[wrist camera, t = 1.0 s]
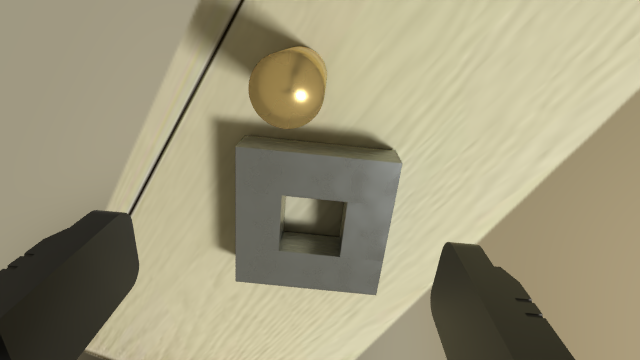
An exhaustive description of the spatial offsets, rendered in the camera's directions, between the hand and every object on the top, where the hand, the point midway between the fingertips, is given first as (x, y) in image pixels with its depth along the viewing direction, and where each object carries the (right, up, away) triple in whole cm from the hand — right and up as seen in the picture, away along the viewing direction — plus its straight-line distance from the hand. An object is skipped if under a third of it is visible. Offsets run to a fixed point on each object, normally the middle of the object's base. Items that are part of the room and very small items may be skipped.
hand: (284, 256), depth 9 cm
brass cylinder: (-1, +10, +17) cm, 19 cm away
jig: (0, -1, +21) cm, 21 cm away
